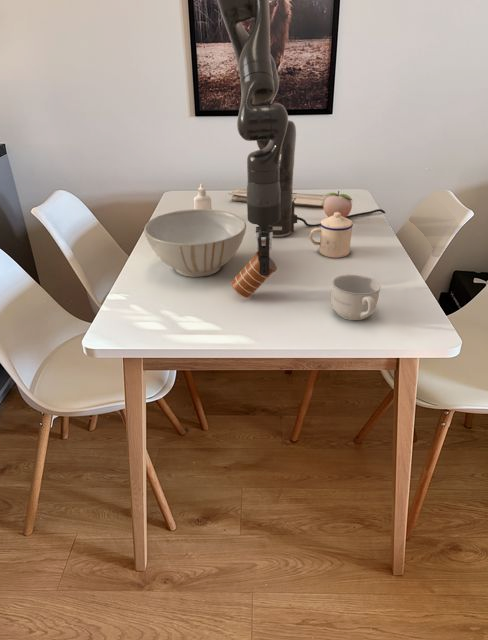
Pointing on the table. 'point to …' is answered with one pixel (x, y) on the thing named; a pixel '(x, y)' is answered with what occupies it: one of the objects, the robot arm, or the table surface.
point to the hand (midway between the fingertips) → (264, 268)
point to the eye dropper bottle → (202, 199)
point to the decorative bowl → (195, 239)
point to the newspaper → (296, 197)
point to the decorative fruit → (337, 204)
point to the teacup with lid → (334, 236)
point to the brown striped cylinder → (251, 276)
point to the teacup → (354, 296)
